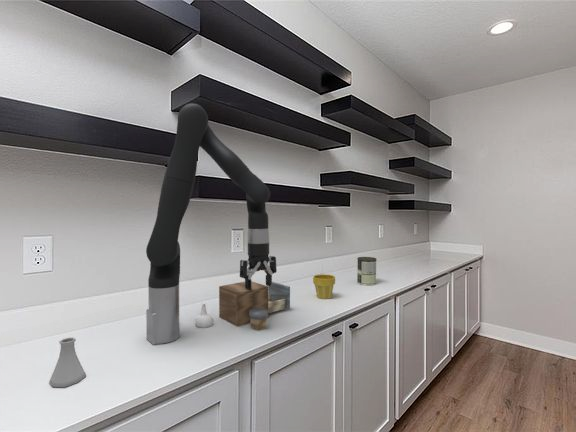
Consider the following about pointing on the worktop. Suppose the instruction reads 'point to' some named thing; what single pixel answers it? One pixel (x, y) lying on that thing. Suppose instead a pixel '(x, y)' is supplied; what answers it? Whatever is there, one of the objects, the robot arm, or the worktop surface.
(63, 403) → the worktop surface
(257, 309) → the disc
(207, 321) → the garlic bulb
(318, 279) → the plant pot
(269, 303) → the drawer
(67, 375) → the flask
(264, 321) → the wooden block
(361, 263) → the coffee can
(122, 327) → the worktop surface
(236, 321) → the housing
